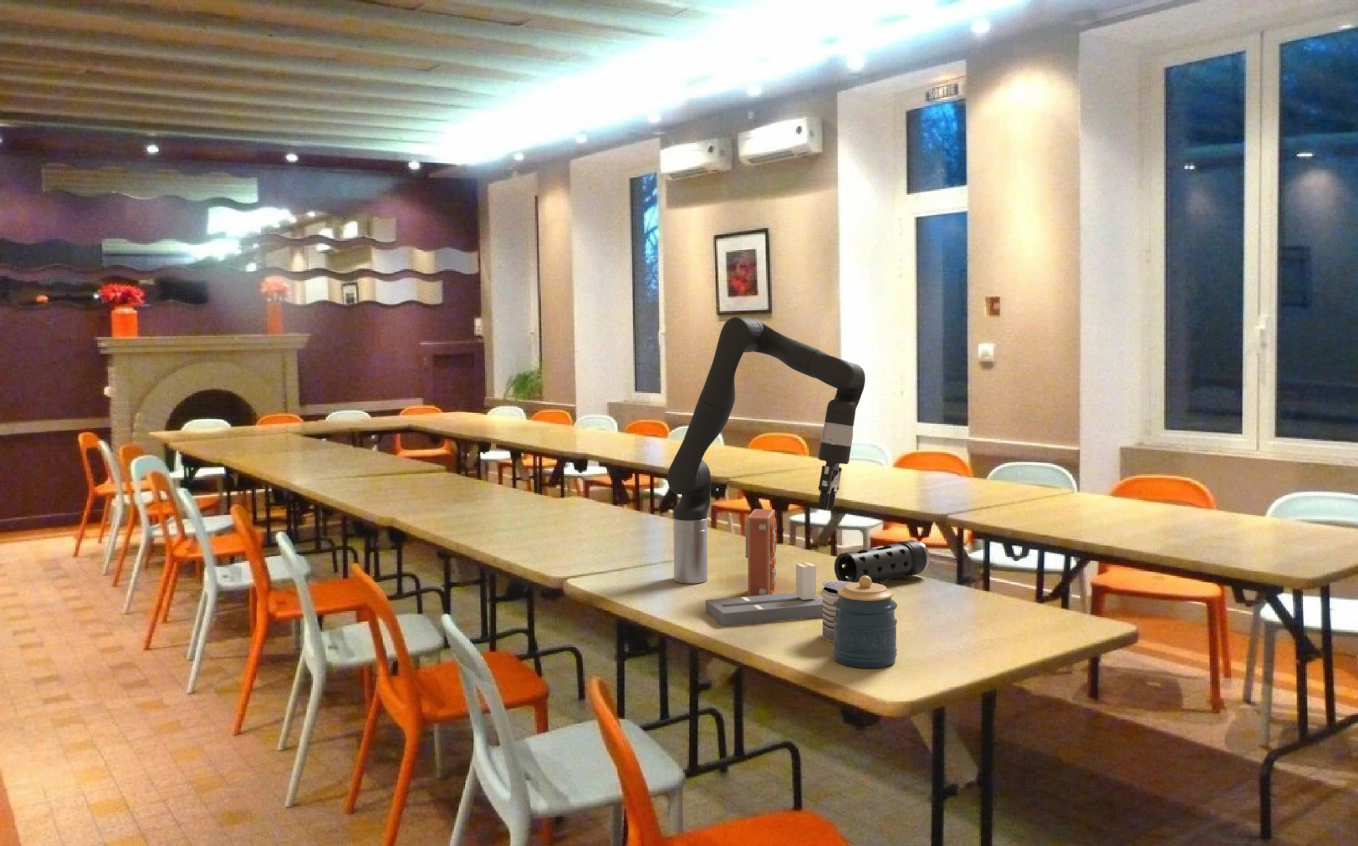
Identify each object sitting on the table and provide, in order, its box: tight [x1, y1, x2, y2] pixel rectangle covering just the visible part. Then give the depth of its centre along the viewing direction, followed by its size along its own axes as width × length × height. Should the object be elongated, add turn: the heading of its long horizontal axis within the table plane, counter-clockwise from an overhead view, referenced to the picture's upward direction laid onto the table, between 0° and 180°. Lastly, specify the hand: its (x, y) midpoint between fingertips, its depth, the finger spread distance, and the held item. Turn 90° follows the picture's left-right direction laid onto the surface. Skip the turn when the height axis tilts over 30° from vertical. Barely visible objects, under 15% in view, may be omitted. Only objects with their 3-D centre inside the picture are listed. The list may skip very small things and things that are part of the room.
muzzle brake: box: [833, 539, 931, 585], centre depth 292 cm, size 10×28×10 cm, turn 126°
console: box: [705, 591, 823, 627], centre depth 261 cm, size 13×27×3 cm, turn 107°
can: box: [822, 580, 855, 643], centre depth 241 cm, size 11×11×12 cm
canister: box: [832, 576, 898, 669], centre depth 224 cm, size 13×13×18 cm
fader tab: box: [795, 562, 817, 600], centre depth 263 cm, size 4×4×8 cm
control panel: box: [744, 508, 778, 597], centre depth 279 cm, size 21×7×15 cm
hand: (825, 508), depth 264 cm, fingers open, 8 cm apart
